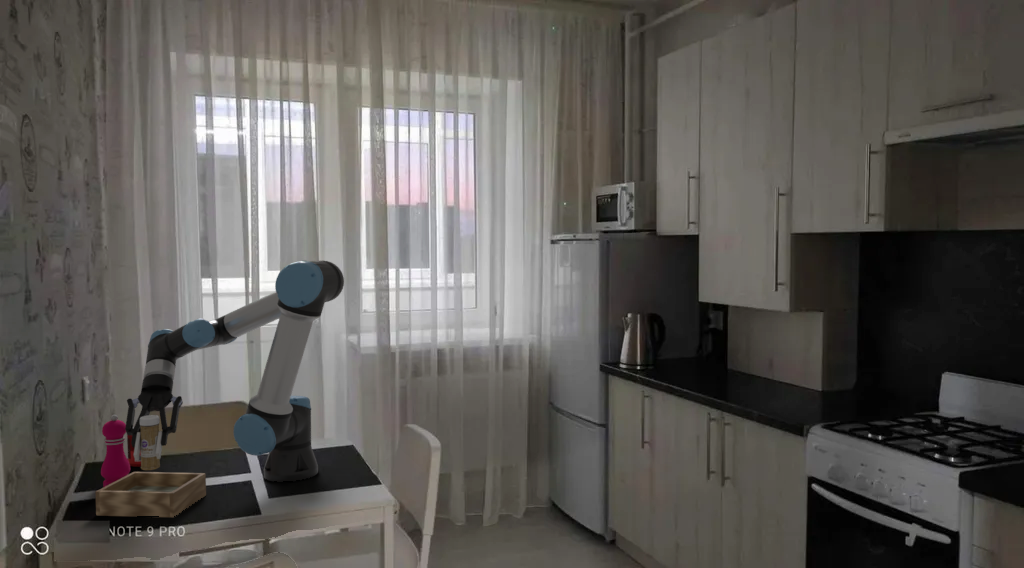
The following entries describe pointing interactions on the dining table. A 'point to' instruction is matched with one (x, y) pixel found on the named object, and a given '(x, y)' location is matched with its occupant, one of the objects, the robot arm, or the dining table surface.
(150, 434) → the sprinkles bottle
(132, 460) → the canned food
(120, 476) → the pepper mill
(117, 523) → the dining table surface
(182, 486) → the bore box
